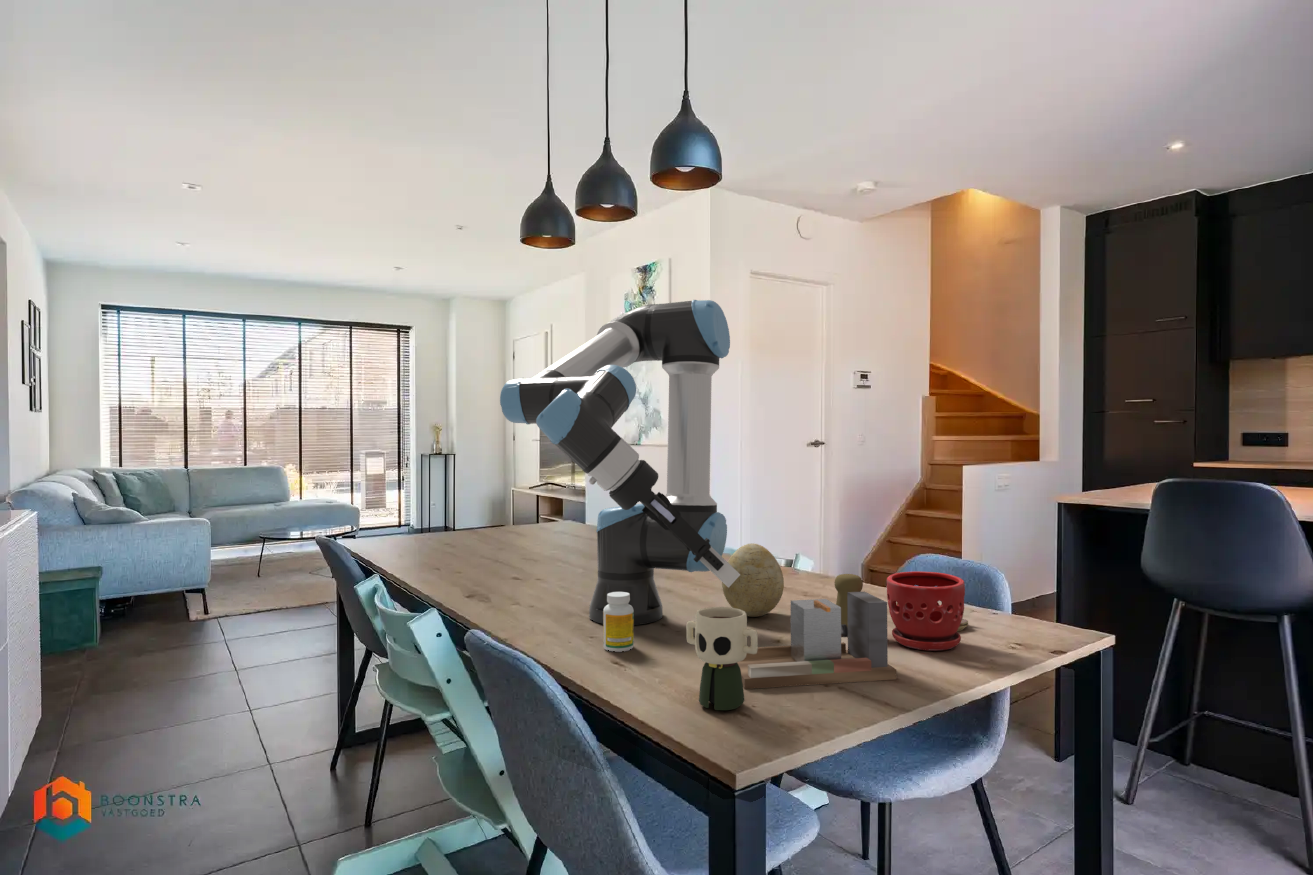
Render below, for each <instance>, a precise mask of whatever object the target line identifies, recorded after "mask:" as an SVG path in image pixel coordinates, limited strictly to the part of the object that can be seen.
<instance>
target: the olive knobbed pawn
mask: <svg viewBox="0 0 1313 875" xmlns="http://www.w3.org/2000/svg"><path fill="white" fill-rule="evenodd" d="M833 582H834V589H836V591H837V595H836V600H835V604H836V605H838V606H839V607H841V624H845V625H846V626H847V629H848V602H847V592H862V591H863V587H864V582H863V579H862V578H861V576H859V575H858V574H853V573H842V574H838V575H836V577H835V579H834V581H833ZM846 638H848V636H847V637H846Z"/></svg>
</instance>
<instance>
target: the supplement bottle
mask: <svg viewBox="0 0 1313 875" xmlns="http://www.w3.org/2000/svg"><path fill="white" fill-rule="evenodd" d="M629 601H630V594H629V593H627V592H612V593H608V594H607V602H608V603H609V604H608V605H606V606H605V607H604V610H603V624H602V627H603V628H602V629H603V634H602V635H603V636H602V638H603V641H602V642H603V649H604V650H606V651H608V650H609V651H608V652H613V651H615V652H614V653H622V651H624V652H629V651H631V650H632V649H633V648H634V644H635V643H634V642H635V640H634V638H635V637H634V636H635V635H634V634H635V633H634V628H635V627H634V626H635V625H634V610H633V607H632V606H631V605H629V604H628V603H629ZM630 649H631V650H630Z"/></svg>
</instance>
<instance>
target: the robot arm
mask: <svg viewBox="0 0 1313 875" xmlns="http://www.w3.org/2000/svg"><path fill="white" fill-rule="evenodd" d="M730 347H731V336H730V328H729V325H728V321H727V318H726V316H725V313H724V311H723V309H722V307H721V306H720V305H719V304H718V303H717V302H716V301H714V300H712V299H711V300H709V299H708V300H707V299H705V300H703V299H702V300H701V299H699V300H697V299H693V300H687V301H677V302H676V301H675V302H669V303H668V302H667V303H657V304H656V303H652V304H645V305H642V306H639V307H634V308H633V309H631V310H629V311H627V312H625V313H622V314H620V315H619V316H617V317H615V318H613V319H611V320H610V321H608V322H607V323H605V324H603V325H602V326H601V327H600V328H599V329H598V331H597V334H596V336H594V337H593V338H591V339H589V340H588V341H587V342H585V343H584V344H582V345H580V346H579V347H577V348H576V349H574V350H573V351H571V352H569V353H568V354H566V355H565V356H563V357H561V358H560V359H558V360H557V361H555V362H554V363H552V364H550V365H549V366H548V367H546V368H545V369H543V370H542V371H540V372H539V373H537V374H535V375H533V376H531V377H527V378H526V377H519V378H514V379H509V380H508V381H507V382H505V383H504V385H503V386H502V388H501V390H500V396H499V404H500V407H501V412H502V414H503V416H504V417H505V419H506V420H507V421H508V422H510V423H513V424H526V425H533V424H536V425H537V427H538V429H539V430H540V431H541V432H542V433H543V434H544V435H545V436H546V437H547V439H549V442H550V443H551V444H553V445H555V446H556V447H557V448H558V449H559V450H560V452H562V453H563V454H565V456H566V457H568V458H569V459H570V460H571V461H572V462H573V463H575V465H576V466H578V467H579V469H581V470H582V472H584V473H585V474H586V475H587V476H589V477H590V478H589V480H588V482H589V484H590V485H595V483H597V485H598V486H599V487H600V488H601V489H602V490H603V491H606V492H607V491H609V493H608V494H609V498H611V499H612V500H613V501H614V502H615V503H616V504H617V505H618V506H613V507H607V508H605V509H601V511H599V512H598V516H597V525H596V530H595V531H596V532H595V533H596V543H597V544H596V545H597V546H596V547H597V550H596V552H597V553H596V554H597V557H596V558H597V581H596V584H595V587H594V588H595V589H594V591H593V594H592V598H591V600H590V603H589V604H590V605H589V607H588V608H589V611H588V613H589V616H588V617H589V620H591V621H592V620H593V622H595V623H599V624H602V625H603V610H604V607H605V606H606V605H608V604H609V603H608V602H607V594H608V593H612V592H627V593H629V594H630V601H629V603H628V604H629V605H631V606H632V607H633V610H634V626H635V625H638V626H640V625H646V624H650V623H654V622H657V621H659V620H661V619H662V618H663V603H662V601H661V597H660V594H659V591H658V589H657V585H656V582H655V576H654V575H655V574H654V569H658V570H659V569H660V570H670V571H671V570H673V571H674V570H675V571H684V572H685V571H686V572H689V573H693V572H704V573H705V572H711V573H712V574H713V575H715V577H716V578H718V579H719V581H720V582H721V583H722V582H723V583H724V584H725V585H726V586H727V587H728V588H729V587H730V586H731V585H732V584H733V582H734V581H735V580H736V579H737V578H738V577H739V576H740V574H739V573H738V572H737V571H736V570H735V569H734V568H733V567H732V566H731V565H730V564H729V563H728V560H726V559H725V558H724V557H723V554H724V553H725V552H724V551H725V547H726V543H727V537H728V525H727V519H726V516H725V515H724V514H722V513H721V512H719V511H718V503H717V502H716V501H715V500H714V499H713V497H712V496H711V494H710V491H711V490H710V489H711V488H710V487H711V486H710V485H711V482H710V481H711V434H712V433H711V428H712V381H713V380H712V378H713V375H714V374H715V373H716V372H717V371H719V370H720V360H721V359H724V358H726V357H728V355H729V352H730ZM652 361H653V362H656V361H657V362H659V361H661V369H663V370H664V371H665V372H666V374H668V410H667V411H668V414H667V415H668V418H667V419H668V420H667V459H666V460H667V461H666V462H667V463H666V466H667V468H666V469H667V470H666V472H667V473H666V494H663V493H661V492H660V491H658V492H657V493H655V492H654V491H653V490H652V488H653V487H654V486H655V485H656V483H657V482H658V480H659V473H658V472H657V471H656V470H655V469H654V467H652V466H651V465H650V464H649V463H648V462H647V461H646V460H645V459H640V453H638V452H637V451H636V449H634V448H633V447H632V446H631V445H630V444H629V443H628V442H627V441H626V440H624V439H623V437H621V436H620V435H619V434H618V433H617V432H616V431H615V430H614V429H613V426H614V425H615V424H616V423H617V421H619V419H620V418H621V417H622V416H623V414H625V412H627V411H628V410H629V408H630V405H631V403H633V400H634V399H635V397H636V394H637V384H636V382H635V380H634V377H633V376H632V374H631V373H630V372H629V371H628V370H627V369H626V368H627V367H630V366H631V365H632V364H635V363H641V362H652ZM639 502H640V503H639Z"/></svg>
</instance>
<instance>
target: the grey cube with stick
mask: <svg viewBox="0 0 1313 875" xmlns="http://www.w3.org/2000/svg"><path fill="white" fill-rule="evenodd" d="M847 636H848V629H847V626H846V625H845V624H841V607H839V606H838V605H836V603H835V602H833V601H830V600H828V599H827V598H819V599H796V600H795V599H794V600H793V599H792V600H790V645H791V657H792V658H794V659H795V660H796V661H797V662H802V661H819V660H836V659H841V642H842V638H848V637H847Z"/></svg>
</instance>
